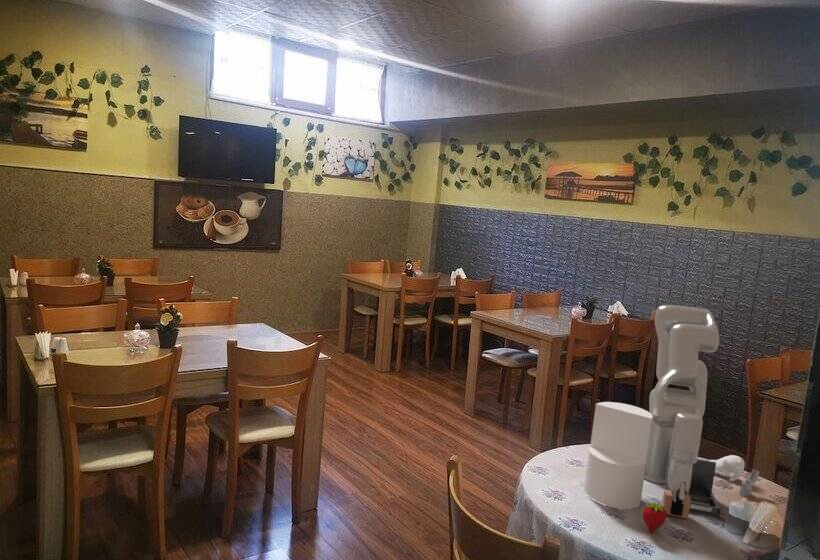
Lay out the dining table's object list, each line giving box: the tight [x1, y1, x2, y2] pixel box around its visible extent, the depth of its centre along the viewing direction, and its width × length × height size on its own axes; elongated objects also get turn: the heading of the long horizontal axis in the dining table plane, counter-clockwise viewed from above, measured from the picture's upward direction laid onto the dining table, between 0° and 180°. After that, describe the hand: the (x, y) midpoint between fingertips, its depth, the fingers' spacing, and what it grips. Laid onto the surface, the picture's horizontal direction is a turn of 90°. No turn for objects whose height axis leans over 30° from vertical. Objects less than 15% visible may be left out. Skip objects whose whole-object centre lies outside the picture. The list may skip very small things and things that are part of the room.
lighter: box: [739, 469, 760, 497], centre depth 204 cm, size 7×2×8 cm, turn 122°
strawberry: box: [641, 499, 668, 533], centre depth 172 cm, size 6×8×10 cm
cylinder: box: [583, 401, 653, 510], centre depth 192 cm, size 17×17×28 cm
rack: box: [689, 458, 722, 518], centre depth 193 cm, size 11×14×12 cm
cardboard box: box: [661, 489, 691, 519], centre depth 184 cm, size 7×4×6 cm, turn 75°
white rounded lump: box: [708, 454, 746, 482], centre depth 216 cm, size 6×8×12 cm
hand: (674, 510), depth 184 cm, fingers closed on cardboard box, 3 cm apart
